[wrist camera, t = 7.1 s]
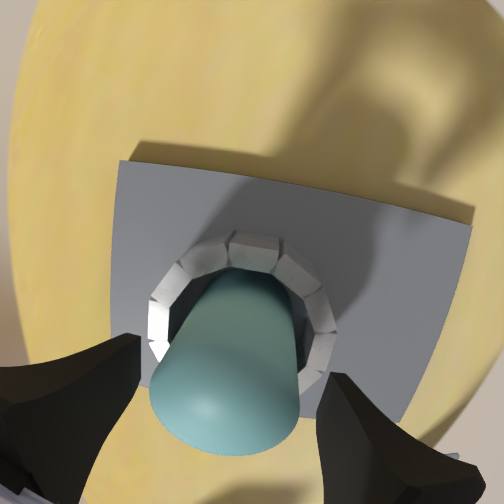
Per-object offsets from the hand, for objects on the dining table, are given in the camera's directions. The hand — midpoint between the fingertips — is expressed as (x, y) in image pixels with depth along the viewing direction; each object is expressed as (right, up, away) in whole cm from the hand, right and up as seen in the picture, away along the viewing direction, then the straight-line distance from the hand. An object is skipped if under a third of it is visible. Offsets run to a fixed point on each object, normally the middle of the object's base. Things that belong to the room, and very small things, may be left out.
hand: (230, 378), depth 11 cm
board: (+2, +1, +7) cm, 7 cm away
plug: (0, +1, +6) cm, 6 cm away
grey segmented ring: (0, +2, +6) cm, 6 cm away
